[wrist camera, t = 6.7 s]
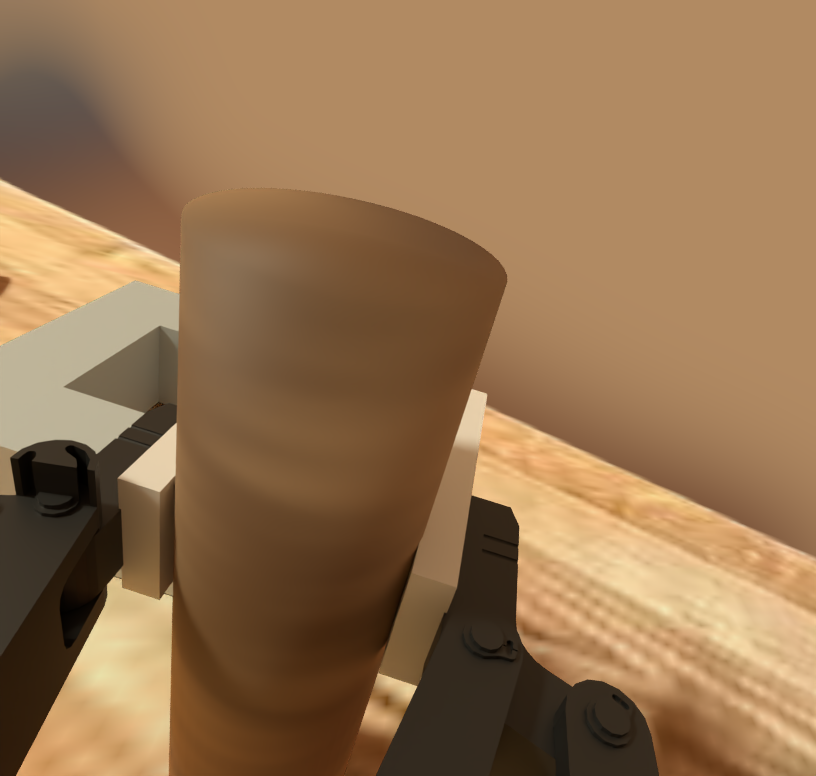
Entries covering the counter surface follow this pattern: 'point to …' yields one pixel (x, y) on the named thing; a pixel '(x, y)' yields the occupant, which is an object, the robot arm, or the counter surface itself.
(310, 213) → the walnut dowel
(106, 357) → the socket block
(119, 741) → the counter surface
